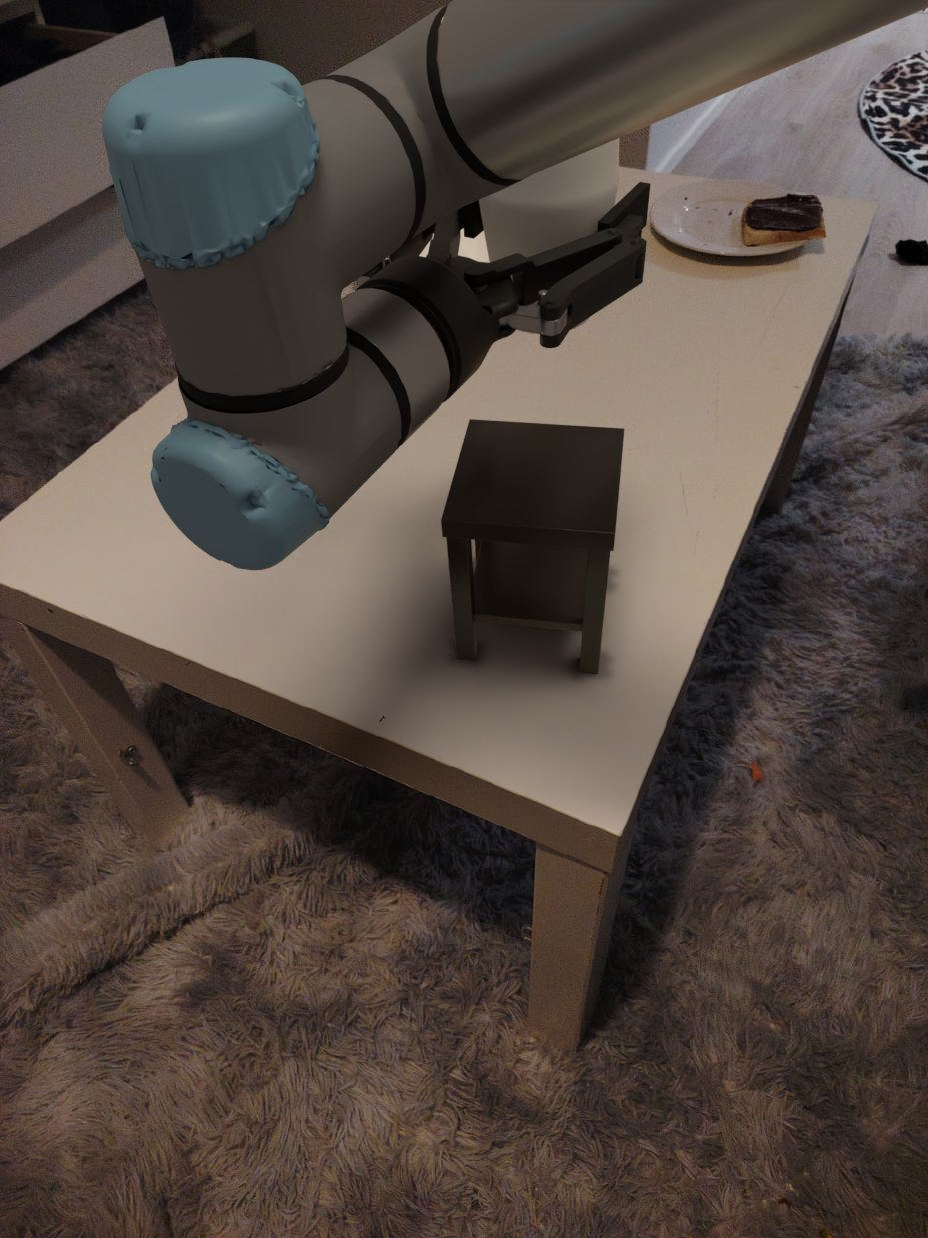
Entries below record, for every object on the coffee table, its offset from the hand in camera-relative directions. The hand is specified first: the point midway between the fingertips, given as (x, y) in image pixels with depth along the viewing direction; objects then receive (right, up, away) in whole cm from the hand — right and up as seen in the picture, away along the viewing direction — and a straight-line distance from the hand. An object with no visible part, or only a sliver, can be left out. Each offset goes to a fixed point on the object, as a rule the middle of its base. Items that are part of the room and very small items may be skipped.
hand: (576, 191), depth 61 cm
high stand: (-2, -29, +9) cm, 30 cm away
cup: (-2, -8, +2) cm, 8 cm away
